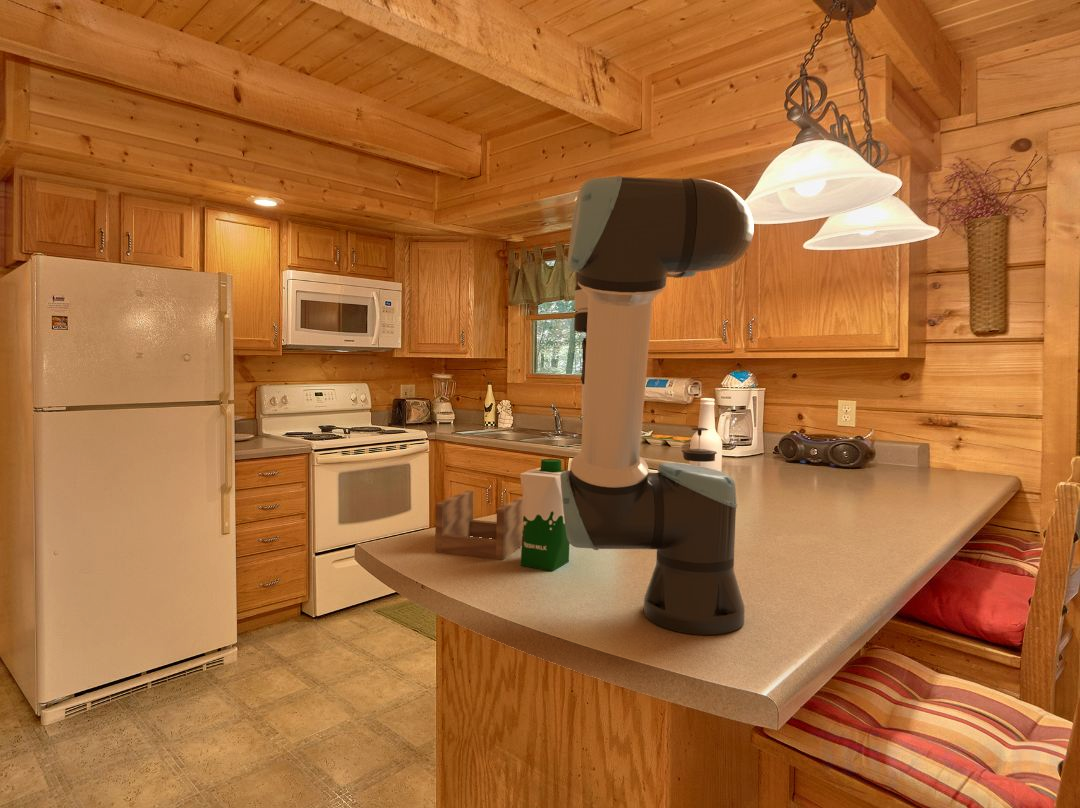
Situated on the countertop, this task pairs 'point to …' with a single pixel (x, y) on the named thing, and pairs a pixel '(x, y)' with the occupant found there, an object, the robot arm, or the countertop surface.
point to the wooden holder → (477, 528)
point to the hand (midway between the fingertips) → (591, 417)
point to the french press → (699, 452)
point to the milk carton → (543, 518)
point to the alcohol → (708, 435)
